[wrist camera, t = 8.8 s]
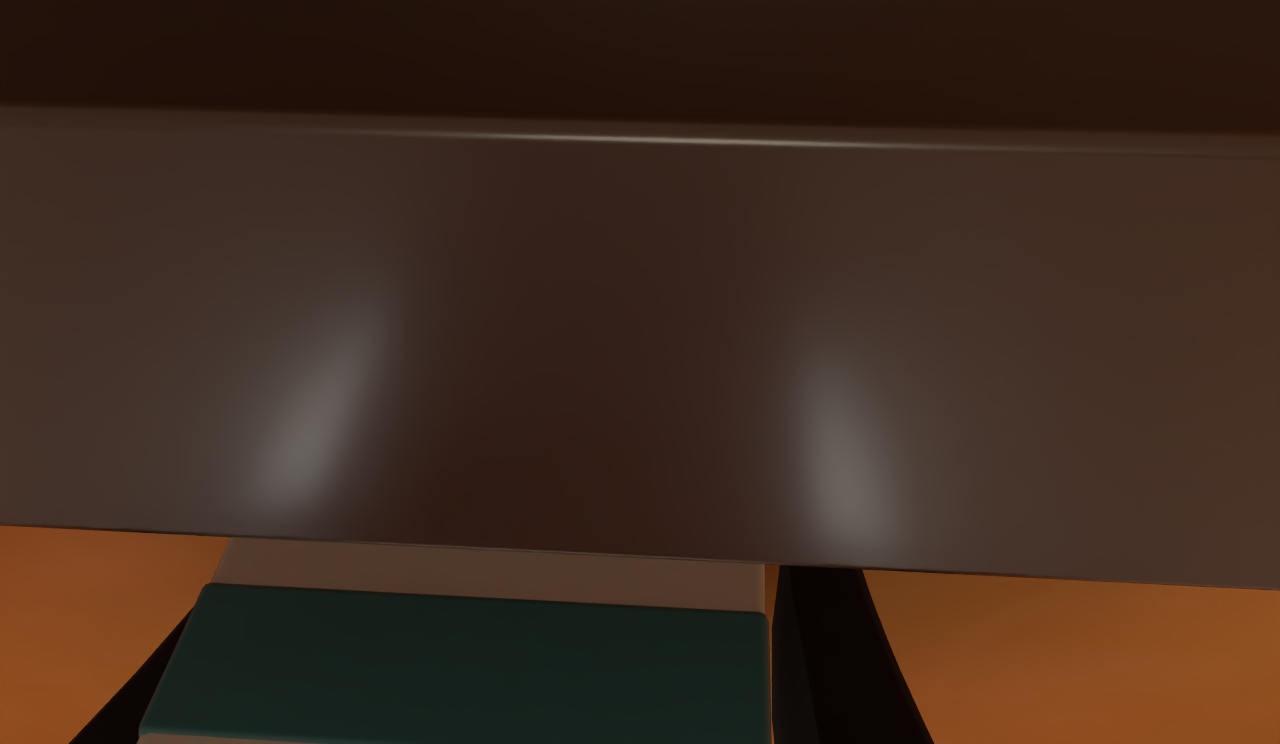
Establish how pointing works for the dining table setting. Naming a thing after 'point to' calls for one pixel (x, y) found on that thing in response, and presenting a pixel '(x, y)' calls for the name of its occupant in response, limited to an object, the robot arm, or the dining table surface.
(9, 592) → the dining table surface
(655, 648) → the tea box
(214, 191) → the walnut shelf
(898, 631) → the dining table surface
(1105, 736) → the dining table surface
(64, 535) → the dining table surface
